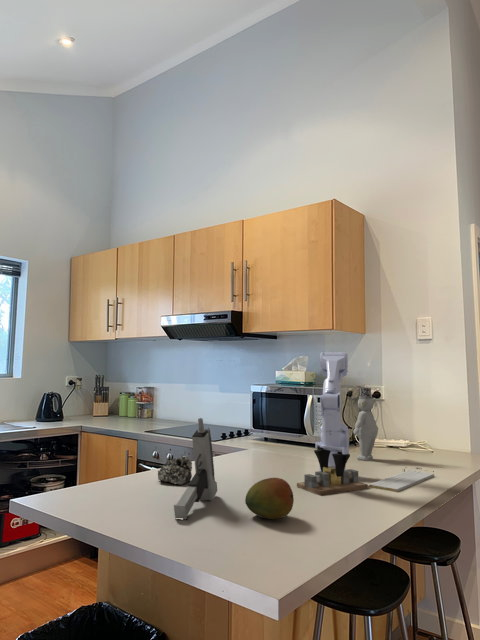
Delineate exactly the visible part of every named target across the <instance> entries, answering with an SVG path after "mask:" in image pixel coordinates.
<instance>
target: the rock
mask: <svg viewBox="0 0 480 640" xmlns="http://www.w3.org/2000/svg"><path fill="white" fill-rule="evenodd" d="M192 465H193V463H192V460H191V457H190V456H183V455H181V457H174V458H173V459H172V458H171V459H170V460H166V461H165V462H164V463H163V465H162V466H161V467H160V469H159V470H157V480H159V481H161V480H162V482H165V483H167V482H168V483H171V484H173V485H176V484H178V485H177V486H179V485H180V486H182V485H184V484H186V483H188V482H189V483H190V481H191V480H192V478H193V477H192V476H193V474H192V470H193V466H192Z"/></svg>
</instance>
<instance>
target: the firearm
mask: <svg viewBox="0 0 480 640" xmlns="http://www.w3.org/2000/svg"><path fill="white" fill-rule="evenodd" d="M197 422H198V424H197V425H198V426H197V427H198V428H197V430H195V431H194V432H193V433H192V435H191V440H192V450H193V459H194V469H195V470H194V471H195V473H194V475H192V476H193V477H191V480H190V481H189V483H188V484H187V487H186V489H185V491H183V494H182V496H181V497H180V499H179V500H178V501H177V503H176V504H174V505H173V511H174V518H183V519H188V517H187V516H188V515H189V512H191V509H192V508H193V506H194V504H195V503H199V502H200V501H204V500H212V501H213V500H214V499H215V496H216V494H217V493H218V482H216V478H215V466H214V465H215V464H214V454H213V446H212V445H213V443H212V442H213V441H212V437H211V435H212V434H211V429H210V427H208V428H205V427H204V418H202V417H199V418H198V419H197Z"/></svg>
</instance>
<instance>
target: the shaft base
mask: <svg viewBox="0 0 480 640" xmlns="http://www.w3.org/2000/svg"><path fill="white" fill-rule="evenodd" d="M303 478H304V479H303V480H304V481H302V482H297V483H296V487H297V488H298V489H301V490H305V491H307V492H310V493H312V494H315V495H318V496H325V495H326V496H327V495H332V494H338V493H345V492H346V493H347V492H350V491H351V492H352V491H357V490H358V491H359V490H360V491H361V490H365V489H369V487H368V485H369V484H367V483H364V482H360V481H359V470H356V469H354V468H353V469H351V468H350V469H349V468H348V469H346V470H344V473H343V476H341V484H340V485H333V486H331V485H329V474H328V473H325V472H321V471H319V470H317V471H315V472H314V474H311V473H307V474H304V477H303Z"/></svg>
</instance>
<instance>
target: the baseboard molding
mask: <svg viewBox="0 0 480 640" xmlns="http://www.w3.org/2000/svg"><path fill="white" fill-rule="evenodd" d="M405 469H407V466H406V467H405V468H404V469H402V472H400V473H397V474H394V475H391V476H388V477H385V478H383V479H380V480H378V481H377V480H376V481H375V482H371V483H369V484H368V488H372V489H377V490H384V491H389V492H394V493H398V492H401V491H403V490H404V489H408V488H410V487H412V486H414V485H417V484H419V483H422V482H423V481H426V480H428V479H431V478H433V477H435V473H434V472H435V471H434V470H433V471H432V472H433V473H431V472H425V471H428V470H425V471H424V472H421V471H416V470H421V467H415V469H416V470H413V469H414V468H413V467H411V469H412V470H411V469H409V470H405Z"/></svg>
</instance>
